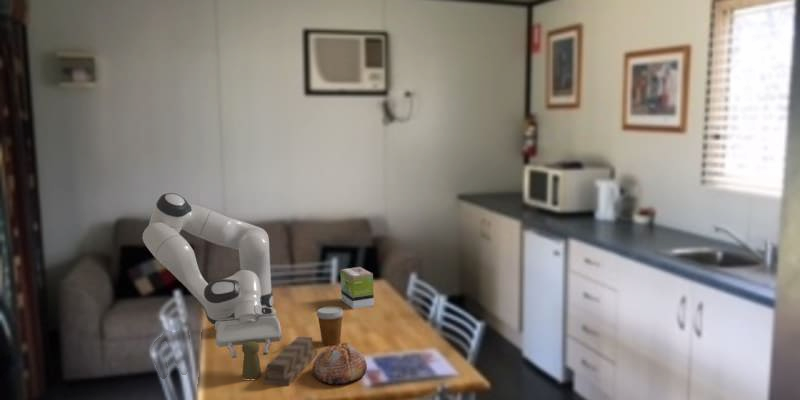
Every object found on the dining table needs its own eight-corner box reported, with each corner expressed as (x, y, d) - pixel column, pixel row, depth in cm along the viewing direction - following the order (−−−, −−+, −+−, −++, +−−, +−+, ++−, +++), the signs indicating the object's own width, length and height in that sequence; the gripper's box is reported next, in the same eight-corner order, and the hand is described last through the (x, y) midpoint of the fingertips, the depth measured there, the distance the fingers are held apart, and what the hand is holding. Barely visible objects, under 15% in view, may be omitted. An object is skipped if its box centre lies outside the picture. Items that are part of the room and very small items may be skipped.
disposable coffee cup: (348, 339, 233) (347, 307, 232) (338, 348, 224) (337, 314, 223) (324, 337, 236) (323, 305, 235) (313, 345, 227) (312, 312, 226)
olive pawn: (257, 380, 196) (255, 346, 195) (238, 379, 197) (236, 345, 196) (265, 373, 202) (263, 339, 201) (247, 372, 203) (245, 338, 202)
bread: (357, 363, 212) (358, 333, 211) (372, 385, 193) (373, 353, 193) (307, 367, 207) (308, 336, 206) (318, 389, 188) (319, 356, 188)
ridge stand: (288, 385, 192) (288, 366, 191) (263, 383, 194) (262, 364, 193) (316, 355, 217) (316, 337, 217) (294, 354, 219) (293, 336, 218)
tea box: (340, 301, 285) (339, 268, 283) (361, 298, 289) (360, 266, 288) (352, 309, 271) (351, 275, 270) (374, 306, 276) (373, 272, 274)
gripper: (214, 314, 203) (214, 354, 194) (279, 308, 207) (282, 347, 199) (215, 323, 208) (215, 363, 199) (279, 318, 212) (282, 356, 204)
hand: (249, 355), depth 199 cm, fingers open, 8 cm apart
